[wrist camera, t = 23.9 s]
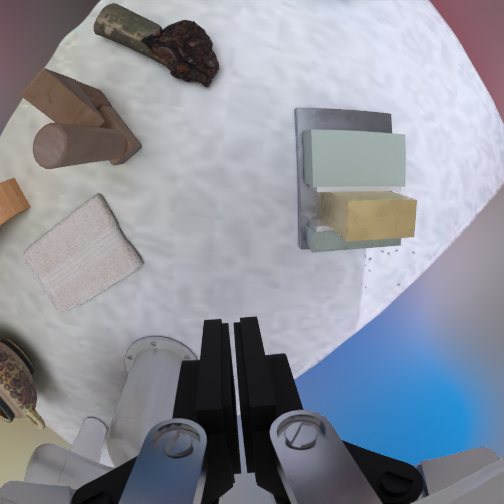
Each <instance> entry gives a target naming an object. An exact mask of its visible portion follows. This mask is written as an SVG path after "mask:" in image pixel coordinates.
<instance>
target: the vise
mask: <svg viewBox="0 0 504 504" xmlns="http://www.w3.org/2000/svg"><path fill="white" fill-rule="evenodd" d="M294 110H295V129H296V151H297V178H298V224H299V247H300V249H301V250H303V249H311V251H312V252H321V251H334V250H347V249H360V248H373V247H386V246H398V245H401V238H393V239H378V240H363V241H349V242H347V241H346V240H345V239H343V238H342V237H341V236H340V235H339V234H337V233H336V232H335V231H334V230H333V229H331V228H330V227H329V226H328V225H326V224H325V223H324V222H323V221H322V220H320V219H319V192H316V191H314V190H312V189H310V188H309V185H307V184H305V182H304V151H303V131H307V130H347V131H366V132H380V133H391V134H392V123H391V114H388V113H379V112H368V111H357V110H342V109H322V108H296V109H294ZM391 192H392V191H391Z"/></svg>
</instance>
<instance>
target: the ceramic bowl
mask: <svg viewBox="0 0 504 504" xmlns="http://www.w3.org/2000/svg"><path fill="white" fill-rule="evenodd" d="M32 374H34V368H33V365H32V364H31V362H30V360H29V359H28V357H27V356H26V355H25V354H24V353H23V351H22V350H21V349H20V348H19V347H18V346H16V345H15V344H14V343H13V342H11V341H10V340H8V339H5V338H2V339H0V418H2V419H3V420H4V421H7V422H9V423H10V422H12V421H13V419H14V418H15V417H16V418H24V419H26V420H27V421H29V422H30V423H31V424H32V425H34V426H35V427H36V428H38V429H44V428H45V422H44V420H43V419H42V417H41V416H40V415H39V414H38V413H37V411H36V410H35V407H36V402H37V393H36V387H35V383H34V381H33V378H32V376H31V375H32Z"/></svg>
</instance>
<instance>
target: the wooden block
mask: <svg viewBox="0 0 504 504" xmlns="http://www.w3.org/2000/svg"><path fill="white" fill-rule="evenodd" d="M21 96H22V97H23V98H24V99H26V100H27V101H28V102H29V103H31V104H32V105H33V106H35V107H36V108H37V109H39V110H40V111H41V112H43V113H44V114H45V115H46V116H48V117H49V118H50V119H52V120H53V121H54V122H56V123H50V124H47V125H45V126H44V127H43V128H42V129H40V130H39V132H38V133H37V135H36V137H35V139H34V142H33V154H34V158H35V160H36V162H37V163H38V164H39V165H40V166H41V167H44V168H46V169H53V168H59V167H65V166H71V165H78V164H84V163H91V162H99V161H106V160H109V161H110V162H111V164H112V165H118V164H123V163H124V162H126V161H127V160H128V159H129V158H130V157H131V156H132V155H133V154H135V153H136V152H137V151H138V150H139V149H140V148H141V144H140V143H139V142H138V140H137V139H136V138H135V136H134V135H133V134H132V132H131V131H130V130H129V128H128V127H127V126H126V124H125V123H124V122H123V120H122V119H121V118H120V116H119V115H118V114H117V112H116V111H115V110H114V108H112V107H111V104H110V103H109V102H108V100H107V99H106V98H105V96H104V95H103V94H102V92H101V91H100V90H98V89H96V88H93V87H91V86H88V85H86V84H83V83H81V82H78V81H76V80H75V79H72V78H70V77H67V76H64V75H61V74H59V73H56V72H53V71H50V70H48V69H45V68H44V69H42V71H41V72H40V73H39V74H38V75H37V76H36V77H35V78H34V80H33V81H32V82H31V83H30V84H29V85H28V87H27V88H26V89H25V90H24V91H23V93H22V94H21Z"/></svg>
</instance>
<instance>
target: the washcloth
mask: <svg viewBox="0 0 504 504" xmlns="http://www.w3.org/2000/svg"><path fill="white" fill-rule="evenodd" d="M24 257H25V264H26V265H28V266H29V267H30V269H31V270H32V272H33V273H34V275H35V277H36V279H37V280H38V282H39V283H40V285H41V287H42V288H43V290H44V292H45V293H46V295H47V297H48V298H49V299H50V301H51V302H52V304H53V305H54V307H55V309H59V310H60V311H68V310H70V309H72V308H74V307H75V306H78V305H82V304H84V303H85V302H87V301H88V300H90V299H91V298H93V297H94V296H96V295H97V294H99V293H101V292H103V291H105V290H106V289H107V288H109V287H110V286H112V285H113V284H115V283H117V282H118V281H120V280H122V279H124V278H125V277H127V276H129V275H130V274H131V273H133V272H134V271H135V270H136V269H137V268H139V267H140V266H141V265H142V264H143V263H142V261H141V259H140V257H139V256H138V254H137V253H136V251H135V250H134V248H133V247H132V246H131V244H130V243H129V242H128V241H127V240H126V239H125V237H124V236H123V234H122V233H121V230H120V229H119V228H118V225H117V221H116V219H115V217H114V216H113V215H112V213H111V211H110V209H109V207H108V206H107V205H106V203H105V201H104V200H103V198H102V196H101V195H100V194H98V193H97V194H96V195H95V196H94V197H93V198H90V199H89V200H87V202H86V203H84V204H83V205H82V206H80V208H77V209H76V210H75V211H73V212H72V213H70V215H69V216H68V217H67V218H65V219H63V220H62V221H61V222H60V223H57V224H56V225H55V226H54V227H53V228H52V229H50V231H48V232H47V233H46V234H45V235H44V236H42V237H40V239H38V240H37V241H36V242H35V243H34V244H32V245H31V246H30V247H29V248H28V249H26V250H25V251H24Z"/></svg>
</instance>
